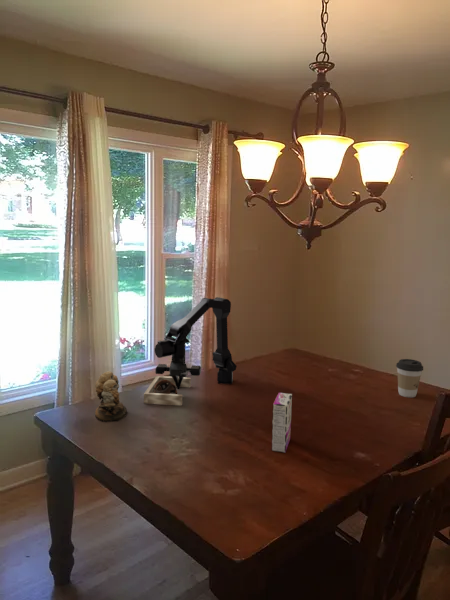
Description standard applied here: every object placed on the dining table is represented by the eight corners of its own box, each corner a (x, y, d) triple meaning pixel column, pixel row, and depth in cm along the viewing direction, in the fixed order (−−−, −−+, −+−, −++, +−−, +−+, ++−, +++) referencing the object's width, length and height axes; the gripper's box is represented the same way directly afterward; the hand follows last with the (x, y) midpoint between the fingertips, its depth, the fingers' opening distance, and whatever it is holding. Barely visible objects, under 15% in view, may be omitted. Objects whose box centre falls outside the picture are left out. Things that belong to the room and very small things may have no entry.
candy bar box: (276, 436, 170) (278, 391, 168) (290, 438, 169) (292, 393, 166) (270, 451, 160) (272, 403, 157) (285, 453, 158) (288, 405, 156)
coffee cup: (416, 401, 208) (419, 367, 205) (390, 395, 214) (392, 362, 212) (424, 394, 217) (427, 361, 214) (398, 388, 223) (401, 356, 221)
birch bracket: (190, 386, 219) (190, 377, 218) (181, 405, 196) (181, 395, 196) (156, 384, 220) (156, 375, 220) (143, 403, 198) (143, 393, 197)
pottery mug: (182, 399, 204) (175, 385, 200) (162, 410, 202) (154, 397, 198) (173, 383, 214) (166, 370, 210) (153, 394, 212) (146, 381, 208)
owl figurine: (128, 422, 179) (127, 378, 176) (95, 425, 176) (93, 380, 173) (125, 404, 196) (124, 363, 193) (95, 406, 193) (94, 365, 190)
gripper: (152, 358, 198) (152, 394, 200) (198, 359, 196) (197, 396, 199) (158, 350, 209) (158, 385, 211) (201, 352, 207) (201, 387, 210)
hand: (178, 389), depth 208 cm, fingers closed
